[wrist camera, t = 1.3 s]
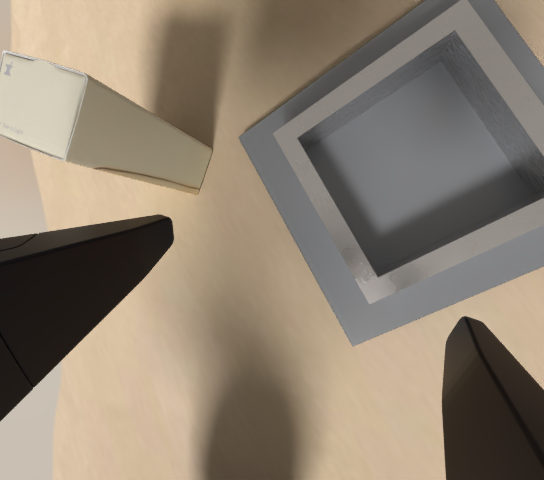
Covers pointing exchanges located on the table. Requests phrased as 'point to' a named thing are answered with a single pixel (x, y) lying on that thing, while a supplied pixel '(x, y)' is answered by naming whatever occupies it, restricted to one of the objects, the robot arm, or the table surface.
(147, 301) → the table surface
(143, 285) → the table surface
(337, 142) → the port base
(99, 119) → the skincare box
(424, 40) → the port collar
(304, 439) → the table surface
